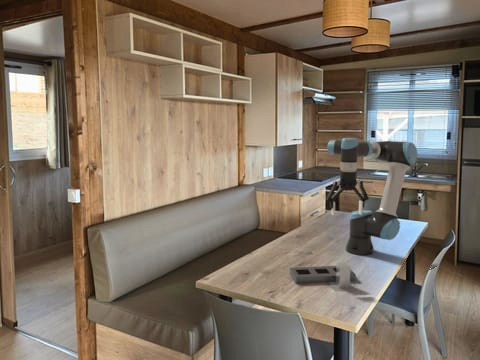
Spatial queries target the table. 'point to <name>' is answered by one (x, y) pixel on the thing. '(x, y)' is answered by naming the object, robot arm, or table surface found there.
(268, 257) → the table surface
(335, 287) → the slate pad
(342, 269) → the steel block
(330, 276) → the grey slotted block
